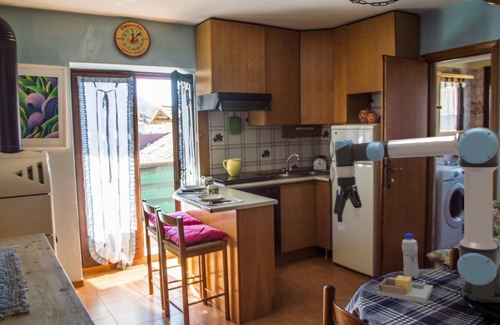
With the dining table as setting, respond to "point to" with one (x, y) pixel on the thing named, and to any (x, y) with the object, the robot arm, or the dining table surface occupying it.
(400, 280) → the block
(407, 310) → the dining table surface
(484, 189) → the robot arm
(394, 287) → the cubby deck
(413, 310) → the dining table surface
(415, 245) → the bottle
